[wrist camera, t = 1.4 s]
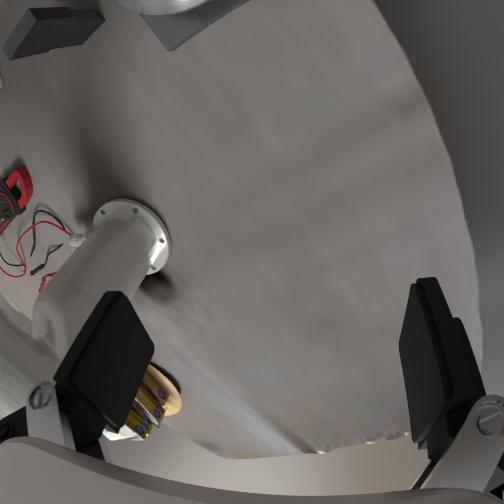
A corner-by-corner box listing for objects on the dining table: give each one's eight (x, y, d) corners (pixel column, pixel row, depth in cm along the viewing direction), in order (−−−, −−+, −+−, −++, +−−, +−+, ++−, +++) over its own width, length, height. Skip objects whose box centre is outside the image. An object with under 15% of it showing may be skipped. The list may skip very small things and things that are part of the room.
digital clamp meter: (-33, 225, 45) (3, 165, 35) (-20, 214, 49) (22, 153, 39) (30, 308, 56) (87, 281, 46) (40, 294, 59) (100, 264, 49)
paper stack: (76, 348, 69) (47, 400, 55) (149, 348, 61) (119, 417, 48) (129, 400, 81) (110, 447, 68) (201, 406, 74) (185, 464, 60)
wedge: (107, 18, 26) (36, 20, 16) (80, 46, 28) (9, 60, 19) (99, 8, 25) (28, 8, 16) (73, 36, 27) (2, 48, 18)
